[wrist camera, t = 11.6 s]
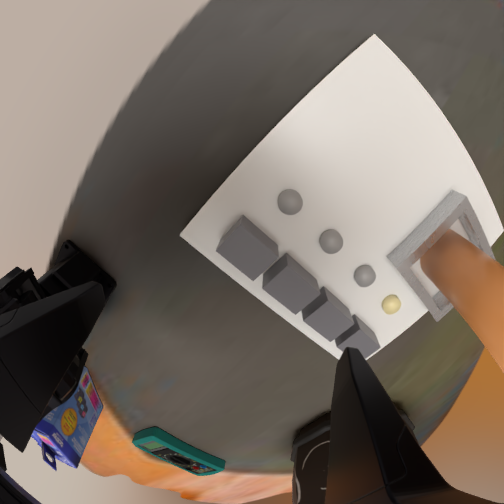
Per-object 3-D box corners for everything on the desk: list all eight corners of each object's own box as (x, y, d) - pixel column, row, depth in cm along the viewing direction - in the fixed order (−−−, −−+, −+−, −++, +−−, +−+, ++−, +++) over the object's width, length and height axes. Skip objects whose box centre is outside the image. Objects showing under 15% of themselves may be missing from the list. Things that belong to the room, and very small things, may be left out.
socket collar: (427, 309, 21) (437, 322, 19) (386, 256, 19) (396, 268, 18) (483, 252, 19) (496, 262, 17) (451, 189, 17) (466, 195, 15)
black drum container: (270, 454, 35) (266, 541, 21) (321, 393, 28) (334, 523, 13) (366, 457, 36) (377, 530, 22) (431, 399, 29) (464, 489, 14)
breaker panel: (350, 360, 25) (356, 384, 23) (183, 229, 21) (170, 246, 18) (496, 225, 19) (516, 238, 16) (368, 38, 14) (384, 25, 11)
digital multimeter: (202, 466, 40) (200, 478, 37) (133, 431, 36) (128, 444, 33) (229, 459, 38) (227, 473, 35) (155, 422, 34) (150, 438, 31)
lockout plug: (425, 286, 20) (507, 401, 8) (414, 244, 19) (520, 357, 7) (463, 262, 19) (555, 357, 7) (456, 219, 18) (571, 306, 6)
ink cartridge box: (106, 408, 33) (73, 483, 20) (77, 397, 33) (41, 465, 20) (88, 365, 29) (38, 452, 16) (57, 354, 29) (5, 430, 16)
